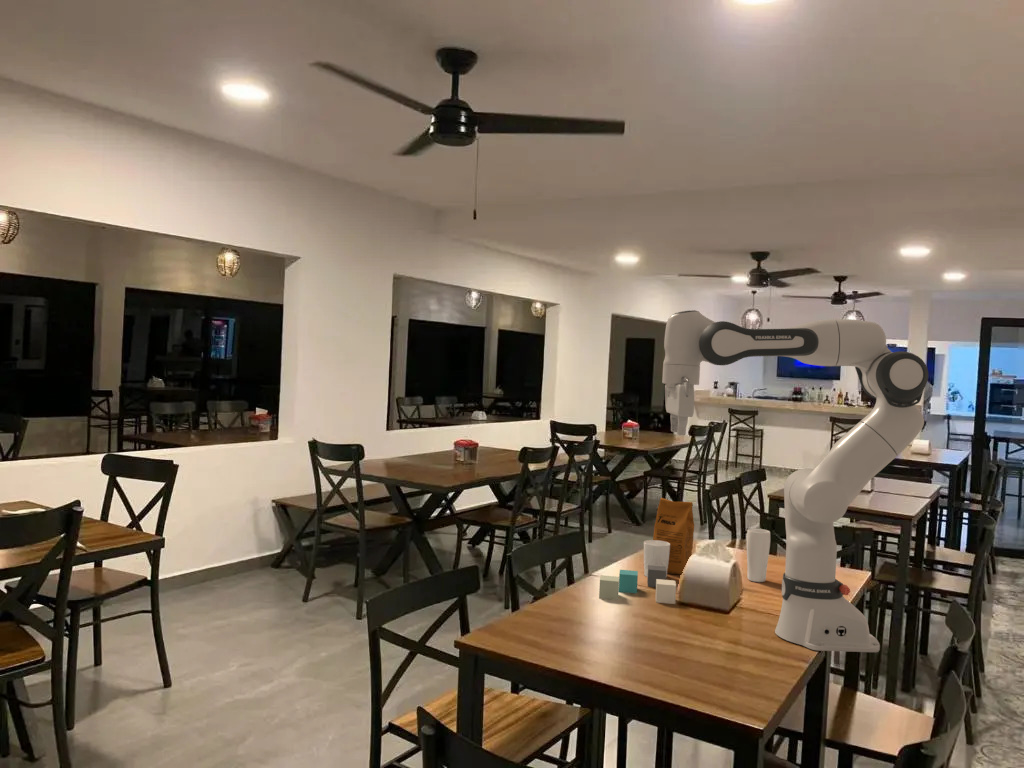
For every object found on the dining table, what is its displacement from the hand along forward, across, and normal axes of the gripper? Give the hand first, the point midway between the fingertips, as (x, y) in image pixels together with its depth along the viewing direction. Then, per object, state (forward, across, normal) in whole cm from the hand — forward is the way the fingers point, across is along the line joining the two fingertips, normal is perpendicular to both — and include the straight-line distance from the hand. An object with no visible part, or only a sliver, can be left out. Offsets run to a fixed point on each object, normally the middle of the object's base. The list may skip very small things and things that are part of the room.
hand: (677, 433), depth 186 cm
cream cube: (+46, +18, -2) cm, 49 cm away
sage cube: (+46, +18, +13) cm, 51 cm away
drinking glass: (+46, +44, -33) cm, 72 cm away
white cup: (+46, +42, -2) cm, 63 cm away
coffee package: (+46, +51, -8) cm, 69 cm away
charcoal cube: (+46, +33, -1) cm, 56 cm away
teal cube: (+46, +26, +7) cm, 53 cm away
